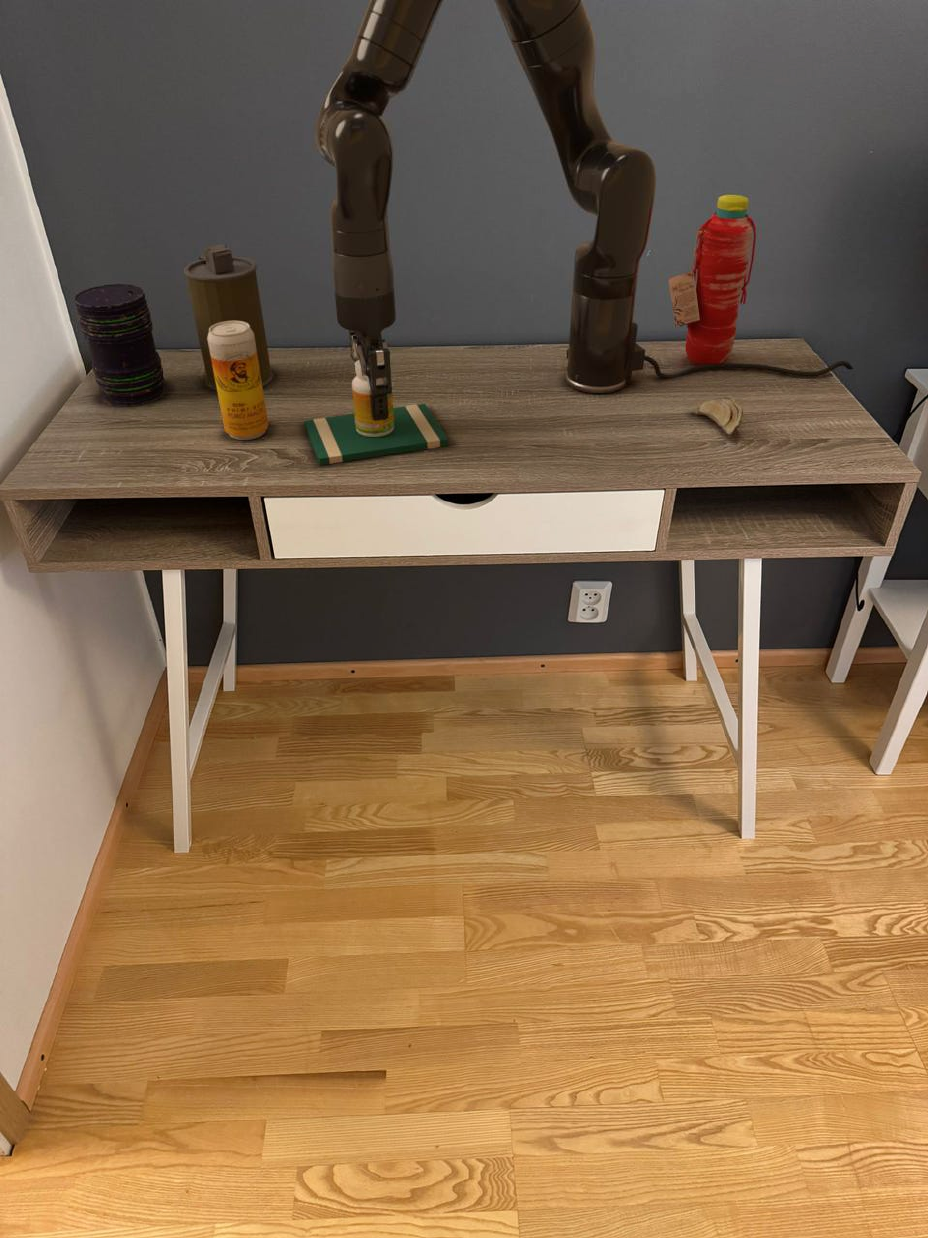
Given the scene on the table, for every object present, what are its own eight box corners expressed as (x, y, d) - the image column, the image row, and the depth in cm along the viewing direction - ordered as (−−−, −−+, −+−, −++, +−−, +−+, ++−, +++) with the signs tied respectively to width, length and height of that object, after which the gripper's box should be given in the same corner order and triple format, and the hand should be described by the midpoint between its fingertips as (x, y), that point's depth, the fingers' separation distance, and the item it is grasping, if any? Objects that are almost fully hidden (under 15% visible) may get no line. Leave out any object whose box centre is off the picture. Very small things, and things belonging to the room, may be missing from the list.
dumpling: (702, 448, 130) (751, 438, 121) (683, 437, 128) (732, 426, 119) (714, 412, 130) (764, 399, 121) (696, 400, 129) (745, 386, 120)
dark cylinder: (104, 411, 131) (76, 310, 122) (97, 386, 138) (69, 289, 129) (172, 399, 134) (150, 300, 125) (162, 375, 141) (140, 280, 132)
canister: (284, 382, 139) (265, 249, 126) (221, 399, 134) (195, 262, 122) (255, 360, 146) (235, 232, 133) (195, 375, 141) (168, 244, 129)
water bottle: (665, 372, 141) (689, 203, 125) (655, 353, 147) (677, 190, 132) (740, 371, 141) (773, 202, 125) (727, 351, 147) (757, 189, 132)
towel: (425, 409, 131) (425, 402, 130) (449, 445, 122) (449, 438, 121) (304, 426, 127) (303, 420, 126) (319, 465, 118) (319, 458, 117)
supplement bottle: (388, 439, 121) (384, 372, 115) (351, 436, 122) (344, 369, 116) (398, 422, 125) (394, 356, 119) (362, 419, 126) (356, 353, 120)
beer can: (232, 445, 122) (212, 339, 113) (220, 427, 126) (200, 324, 117) (274, 435, 124) (258, 330, 115) (261, 419, 129) (245, 316, 119)
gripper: (407, 300, 107) (413, 425, 117) (379, 265, 117) (387, 382, 128) (346, 307, 105) (357, 433, 115) (324, 271, 116) (336, 389, 126)
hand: (373, 406), depth 121 cm, fingers open, 7 cm apart
